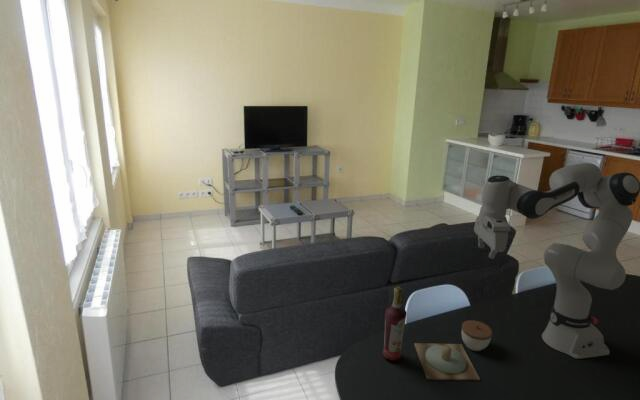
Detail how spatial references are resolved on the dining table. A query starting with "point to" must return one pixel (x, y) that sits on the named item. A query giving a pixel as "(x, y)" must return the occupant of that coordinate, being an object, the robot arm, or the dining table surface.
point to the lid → (445, 359)
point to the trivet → (437, 375)
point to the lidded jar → (476, 335)
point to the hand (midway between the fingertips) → (486, 252)
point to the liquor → (394, 327)
